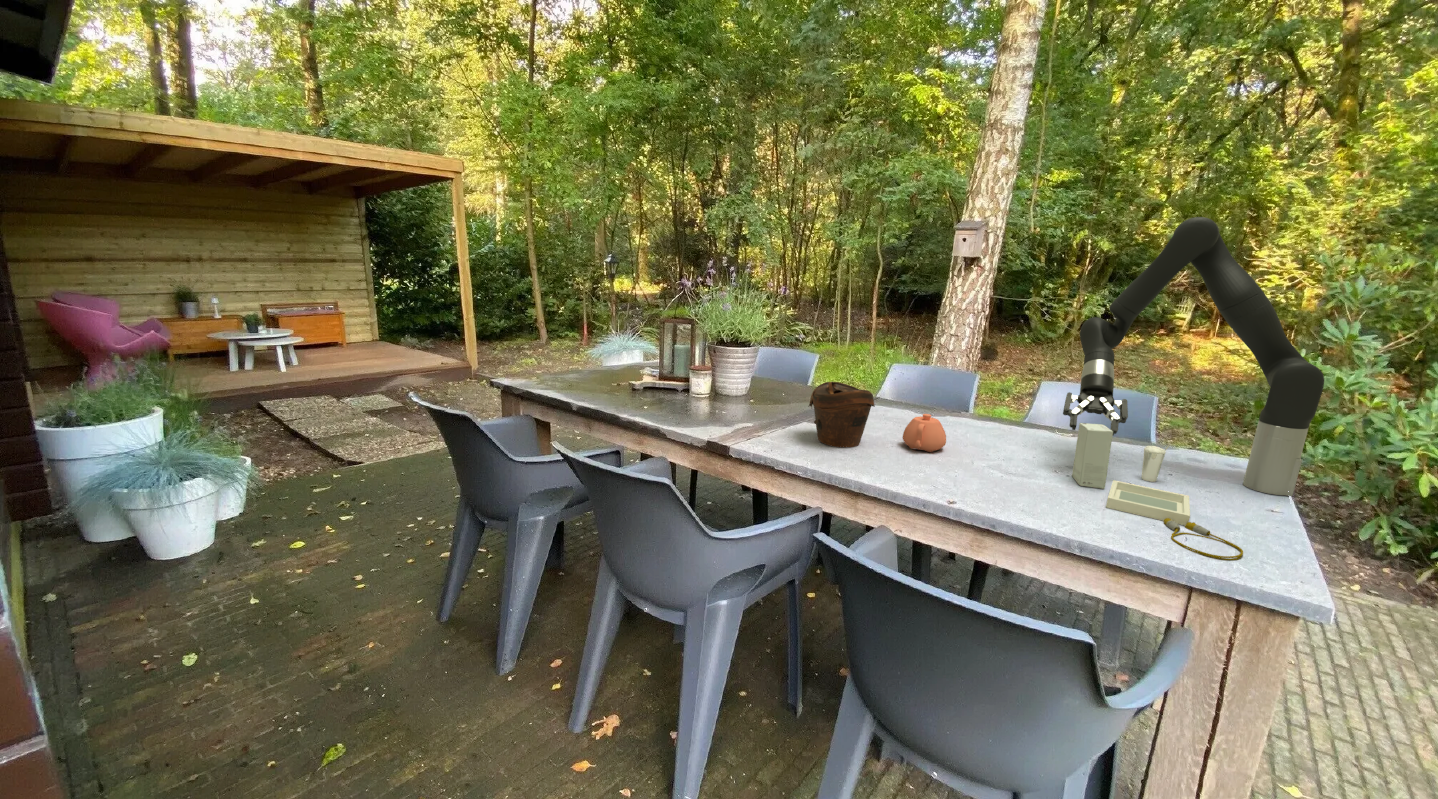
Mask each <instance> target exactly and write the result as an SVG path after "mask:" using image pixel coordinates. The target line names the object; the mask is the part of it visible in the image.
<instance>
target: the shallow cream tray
mask: <svg viewBox="0 0 1438 799" xmlns="http://www.w3.org/2000/svg"><path fill="white" fill-rule="evenodd" d="M1190 504H1191V503H1190V495H1187V494H1183V493H1182V494H1181V493H1177V492H1173V491H1168V490H1164V489H1158V488H1155V487H1154V488H1153V487H1149V486H1143V485H1138V484H1133V483H1128V482H1125V481H1119V480H1114V479H1113V480H1112V483H1111V486H1110V490H1109V493H1108V496H1107V501H1106V505H1105V508H1107V509H1110V510H1114V511H1119V512H1124V513H1129V514H1132V515H1133V514H1134V515H1138V516H1140V517H1141V516H1142V517H1145V518H1150V519H1154V520H1159V521H1164V519H1166V518H1170V519H1171V520H1173V521H1175V522H1176V523H1177V524H1178V525H1179V526H1184V527H1185V526H1186V524H1187V523H1188V522H1190V518H1191V507H1190V506H1191V505H1190Z"/></svg>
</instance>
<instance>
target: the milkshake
mask: <svg viewBox="0 0 1438 799" xmlns="http://www.w3.org/2000/svg"><path fill="white" fill-rule="evenodd" d="M1170 446H1171V444H1170V443H1169V444H1168V445H1167V446H1166V447H1165V449H1164V448H1162V447H1159V446H1156V445H1146V446H1145V447H1144V448H1143V449H1144V450H1143V458H1142V459H1143V460H1142V468H1141V475H1140V476H1141V480H1143V481H1146V482H1150V483H1153V482H1155V483H1156V482H1157V480H1158V477H1159V474H1160V470H1161V468H1162V464H1163V462H1164V458H1165V455H1166V452H1167V450H1168V448H1170Z"/></svg>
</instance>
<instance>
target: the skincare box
mask: <svg viewBox="0 0 1438 799" xmlns="http://www.w3.org/2000/svg"><path fill="white" fill-rule="evenodd" d="M1110 429H1111V428H1109V427H1108V426H1106V425H1105V424H1100V423H1085V422H1080V423H1079V424H1078V431H1077V439H1076V445H1075V451H1074V452H1075V454H1074V459H1073V467H1072V473H1071V477H1072V478H1073V479H1074V480H1075V481H1076V483H1077V484H1078V485H1079V486H1080V487H1081V486H1082V487H1088V488H1095V489H1102V490H1104V489H1105V488H1106V482H1107V475H1108V470H1109V468H1108V467H1109V463H1110V462H1109V461H1110V455H1111V448H1112V442H1113V431H1112V430H1110Z"/></svg>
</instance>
